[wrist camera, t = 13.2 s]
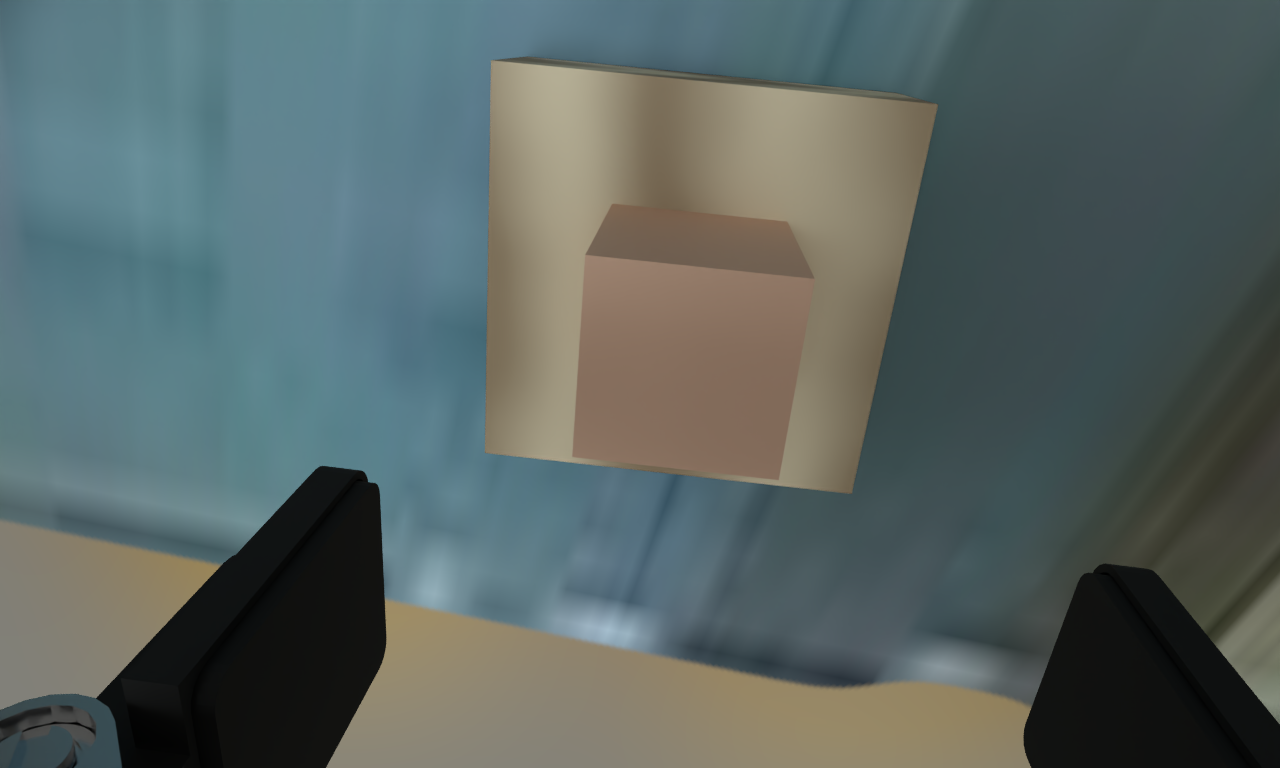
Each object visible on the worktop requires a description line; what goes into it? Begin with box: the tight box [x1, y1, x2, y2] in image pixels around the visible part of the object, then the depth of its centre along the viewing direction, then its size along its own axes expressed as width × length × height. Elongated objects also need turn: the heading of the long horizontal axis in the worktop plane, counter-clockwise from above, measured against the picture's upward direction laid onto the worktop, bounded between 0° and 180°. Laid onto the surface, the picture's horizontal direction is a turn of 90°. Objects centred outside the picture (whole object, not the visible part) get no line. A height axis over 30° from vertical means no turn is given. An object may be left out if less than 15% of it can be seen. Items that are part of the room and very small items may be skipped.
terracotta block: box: [572, 204, 815, 480], centre depth 21 cm, size 5×5×6 cm
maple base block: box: [485, 57, 938, 494], centre depth 26 cm, size 12×12×5 cm
